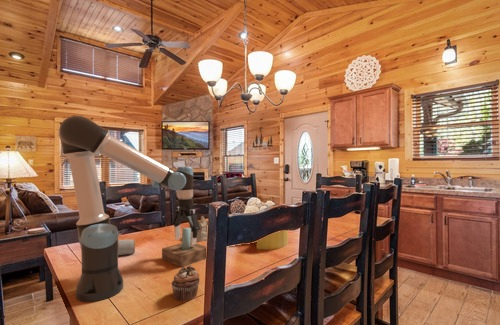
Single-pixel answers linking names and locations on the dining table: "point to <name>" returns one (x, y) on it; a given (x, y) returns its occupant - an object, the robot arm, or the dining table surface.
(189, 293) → the cupcake
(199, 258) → the socket block
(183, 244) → the peg
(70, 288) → the dining table surface
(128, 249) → the ceramic mug
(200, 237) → the sand castle
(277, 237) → the cheese
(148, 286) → the dining table surface
